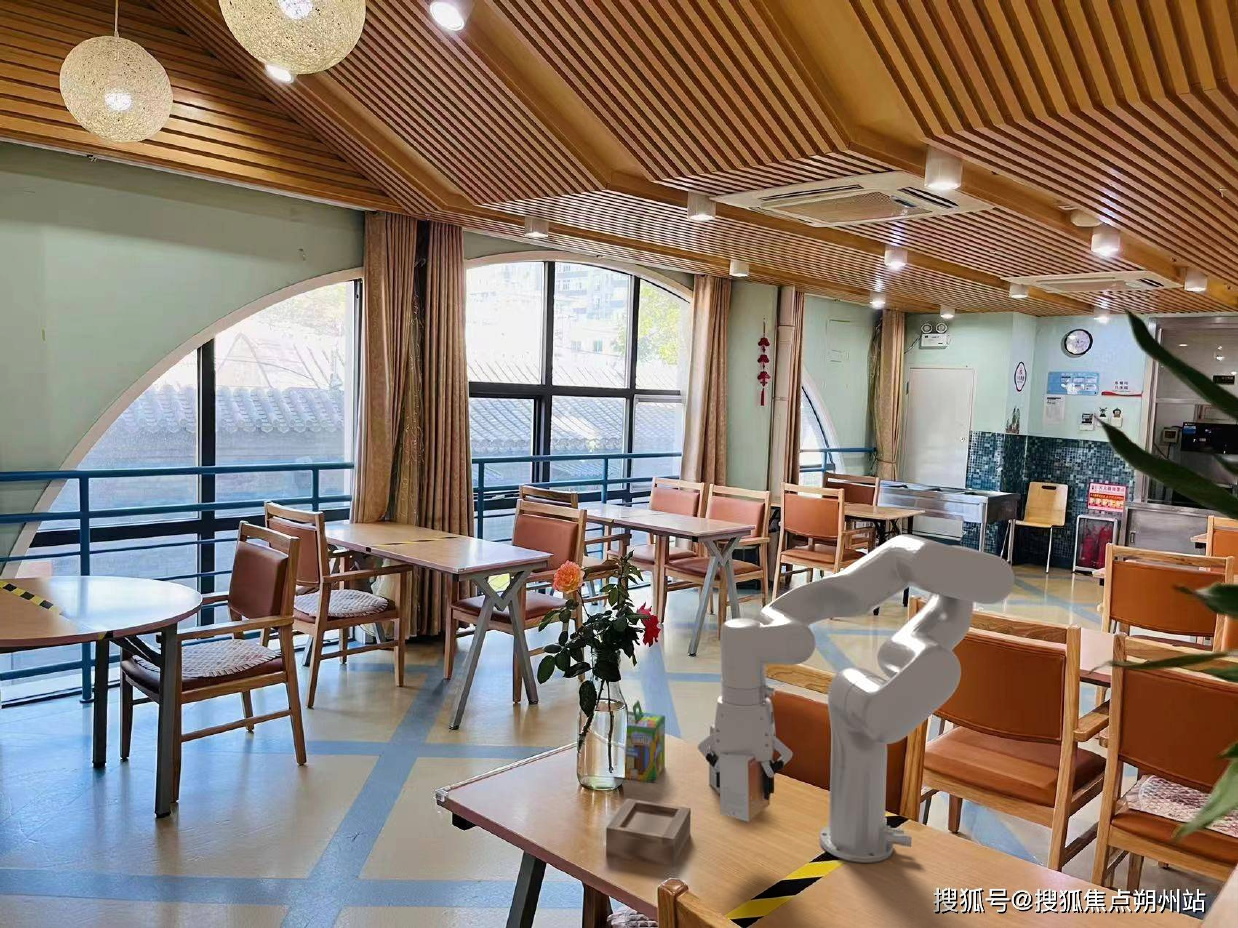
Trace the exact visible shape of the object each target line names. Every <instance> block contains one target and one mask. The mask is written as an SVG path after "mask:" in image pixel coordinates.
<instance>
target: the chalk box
mask: <svg viewBox="0 0 1238 928" xmlns="http://www.w3.org/2000/svg"><path fill="white" fill-rule="evenodd" d="M637 709H638V711H637ZM627 711H628V724H627V749H626V763H625V779H627V780H632V781H633V780H634V781H635V780H636V781H642V782H649V783H656V781H657V780H658V778H659V776H660V774H661V773H662V772H663V770H664V769H665V765H666V764H665V763H666V762H665V761H666V759H665V758H666V757H665V756H666V755H665V754H666V751H665V750H666V749H665V747H666V746H665V745H666V744H665V743H666V741H665V740H666V739H665V738H666V737H665V736H666V716H665V715H663V714H661V715H660V714H656V713H655V714H654V713H650V712H644V711H643V709H642V706H641V703H640V700H636V702H635V703H634V704H633V705H632V711H629V710H627Z"/></svg>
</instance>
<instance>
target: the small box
mask: <svg viewBox="0 0 1238 928" xmlns="http://www.w3.org/2000/svg"><path fill="white" fill-rule="evenodd" d="M719 757H720V793H719V799H720V804H719V805H720V814H721V815H724V816H728V817H731V818H734V819H737V820H741V821H745V822H750V821H752V820H753V818H755V817H756V816H757V815H759V814H760V813H761V812H762V811H764V810H765V809H766V808H768V807H770V805H771V796H770V797H769V800H765V799H764V776H765V773H766V772H765V770H764V768H763V766H762V764H761V762H757V761H756V758H755V757H754V756H747V755H734V754H720V755H719Z"/></svg>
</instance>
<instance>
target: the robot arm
mask: <svg viewBox="0 0 1238 928" xmlns="http://www.w3.org/2000/svg"><path fill="white" fill-rule="evenodd" d="M1014 585H1015V574H1014V570H1013V569H1012V567H1011V565H1010V564H1009V563H1008V561H1006V560H1005V559H1004V558H1003V557H1000V556H998V555H996V554H992V553H989V552H985V551H981V550H977V549H974V548H972V547H971V548H970V547H968V546H963V545H955V544H954V545H949V544H945V543H942V542H938V541H935V540H932V539H927V538H925V537H921V536H917V535H912V534H907V533H906V534H899V535H897V536H894V537H892V538H890V539H889V540H887V541H885V542H884V543H882V544H881V545H879V546H877V547H876V548H874V549H873V550H871V551H870V552H868V553H867V554H865V555H864V556H862V557H860V558H859V559H858V560H856V561H855V562H853V563H852V564H851V563H850V565H848V566H847V567H846V568H843V569H842V570H841V571H839V572H837V573H834V574H832V575H828V576H824V577H821V578H819V579H817V580H813V581H811V582H807V583H805V584H801V585H799V586H798V587H795V588H793V589H791V590H789V591H786V592H785V593H784V594H781V595H780V596H779V597H777V598H776V599H774V600H773V601H771V602H769V603H768V604H766V605H765V606H764V607H763V608H761V609H760V610H759V611H758V613H756V615H755V616H754V617H753V619H752V618H745V617H740V618H738V617H737V618H732V619H728V620H725V622H722V624H721V626H720V635H719V636H720V641H719V642H720V677H721V679H720V680H721V681H720V683H721V684H720V686H721V695H720V696H718V698H717V703H716V707H715V718H714V724H715V728H714V733H712V734H711V735H710V734H709V736H707V737H706V738H705V739H703V740H702V741H700V742H699V743H698V746H697V750H698V751H699V752H700V753H701V754H702V756H703V757H705V760H706V761H707V762H708V764H709V763H710V764H711V765H712V766H713V768H714V770H715V771H716V786H717V788H720V757H719V755H720V754H734V755H747V756H754V757H755V758H756V761H757V762H761V764H762V766H763V768H764V770H765V772H766V773H765V776H764V799H765V800H769V797H770V798H771V794H774V793H775V775H776V774H777V773H779V771H780V770H782V768H784V766H785V765H786V764H787V763H788V762H789V761H790V760H791V759H792V757H793V754H794V753H793V751H792V749H790V748H789V747H788V746H786V745H785V744H784V742H782V741H781V740H780V739H779V738H778V737H776V727H775V726H776V725H775V724H776V723H775V715H774V710H773V709H774V707H773V704H772V700H771V699H770V698H769V697H775V693H776V690H775V689H776V688H775V687H771V686H769V685H768V684H767V674H766V673H767V672H766V671H767V666H766V665H768V664H769V665H770V664H771V665H783V666H784V665H785V666H794V665H799V664H803V663H804V662H806V661H808V660H809V659H810V658H811V657H812V656H813V654H814V652H815V650H816V644H817V643H816V637H815V634H814V633H813V632H812V630H811V628H810V627H808V626H810V625H812V624H815V623H817V622H819V621H824V620H828V619H834V618H855V617H862V616H867V615H869V614H870V613H872V612H873V611H874V610H876V609H878V608H879V607H880V606H882V605H883V604H885V603H886V602H888V601H889V600H890V599H892V598H894V597H896V596H897V595H899V594H900V593H902V592H904V591H905V590H906V589H908V588H910V587H913V588H917V589H919V590H921V591H923V592H924V591H925V592H928V593H929V596H928V599H927V601H926V603H925V604H924V605H923V606H922V607H921V609H919V610H918V612H916V613H915V614H914V615H913V616H912V617H911V618H910V619H908V620H907V622H905V623H904V624H903V625H902V626H900V628H898V629H897V630H896V631H895V632H894V633H893V634H892V635H890V636H889V637H888V638H887V639H886V640H885V641H884V642H883V643H882V644H881V645H880V647H879V649H878V652H877V657H876V659H877V664H878V666H879V669H880V670H881V671H882V672H883V674H884V675H885V676H887V677H888V678H889V680H888V681H887V680H885V679H884V678H882V677H881V676H879V675H877V674H876V673H874V672H872V671H871V670H868V669H866V668H864V667H863V668H862V667H858V666H857V667H855V666H853V667H851V666H850V667H846V668H844V669H842V670H840V671H839V672H837V673H836V674H835V675H834V677H833V678H832V679H831V682H830V684H829V685H828V690H827V691H828V692H827V706H828V713H829V714H828V715H829V721H830V723H829V724H830V731H831V733H830V735H831V736H830V737H831V740H830V742H831V743H830V747H831V748H830V752H831V753H830V771H829V772H830V778H829V779H830V780H829V809H828V811H829V812H828V813H829V814H828V825H827V826H825V827H823V829H821V830H820V833H819V843H820V845H821V847H822V848H823V849H824V850H825V851H826V852H828V853H829V854H831V855H832V856H834V857H837V858H839V859H842V860H845V861H849V862H855V863H863V864H865V863H866V864H867V863H877V862H881V861H884V860H886V859H888V858H890V857H891V855H892V854H893V852H894V845H898V846H900V847H901V846H902V847H907V848H912V837H913V836H912V835H911V834H905V829H904V828H894V827H891V825H887V822H888V821H887V820H888V819H887V817H886V800H887V799H886V798H887V797H886V795H887V793H886V792H887V768H888V767H887V766H888V765H887V764H888V746H887V745H889V744H894V743H898V742H900V741H901V740H903V739H904V738H906V737H908V736H909V735H910V734H911V733H913V732H914V731H916V730H917V728H918V727H919V726H921V725H922V724H923V723H924V722H925V721H926V720H927V719H928V718H929V717H931V716H932V715H933V714H934V713H935V712H936V711H937V710H939V709H940V708H941V707H942V706H943V705H944V704H945V703H946V702H947V701H948V700H949V699H951V697H952V696H953V695H954V693H955V691H957V688H958V686H959V684H960V681H961V676H962V667H961V666H962V665H961V663H960V660H959V658H958V656H957V655H956V654H955V652H954V651H953V650H954V649H955V647H957V645H959V644H960V642H962V640H963V639H964V638H965V637H966V635H967V634H968V632H969V630H970V628H971V625H972V620H973V612H974V603H977V604H981V605H995V604H997V603H1000V602H1002V601H1004V600H1006V598H1008V596H1010V594H1011V593H1012V592H1013V588H1014ZM713 743H714V752H715V754H716V755H717V756H718V757H719V758H718V757H717V756H716V755H715V754H714V753H713V752H712V751H711V750H710V745H712V744H713ZM775 752H778V753H779V754H780V757H778V758H777V759H776V760H775V761H774V760H773V757H774V756H773V755H774V753H775Z"/></svg>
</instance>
